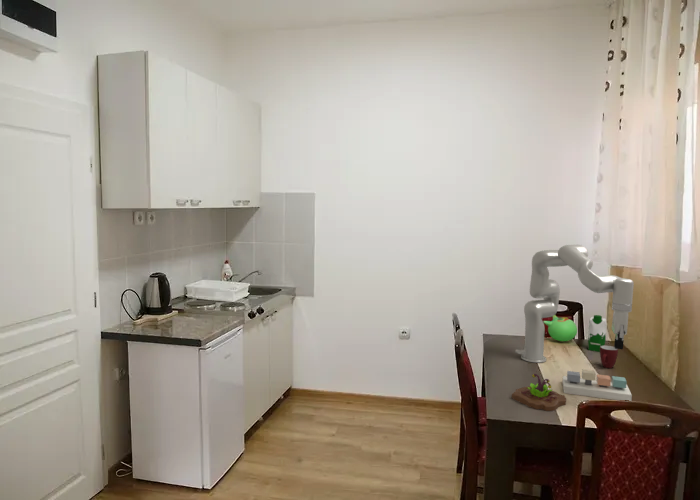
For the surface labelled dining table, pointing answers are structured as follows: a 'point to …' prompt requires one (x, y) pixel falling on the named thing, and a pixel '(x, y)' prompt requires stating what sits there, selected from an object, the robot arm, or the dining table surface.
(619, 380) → the key
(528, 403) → the plant
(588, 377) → the key
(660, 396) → the dining table surface
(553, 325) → the toy bird
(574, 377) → the key
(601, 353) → the mug
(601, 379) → the key
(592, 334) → the milk carton
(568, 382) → the keypad base
